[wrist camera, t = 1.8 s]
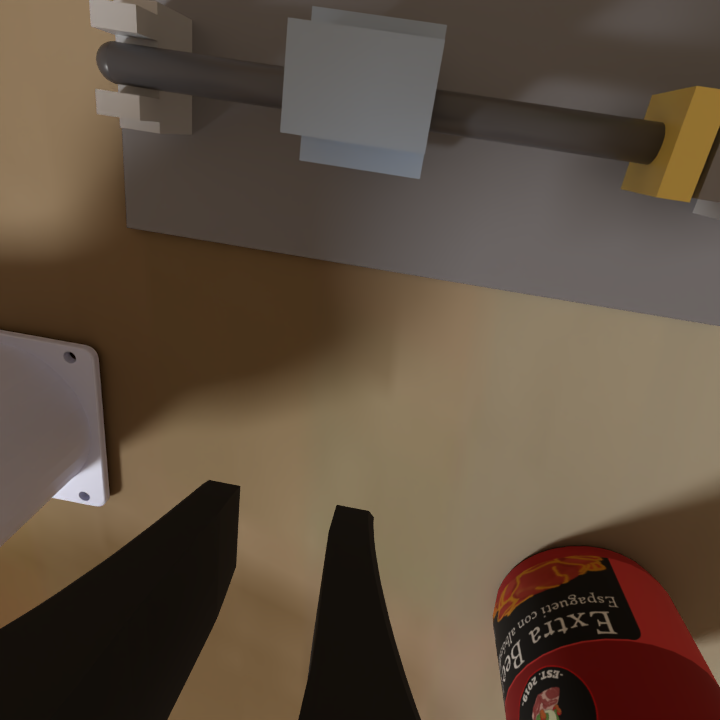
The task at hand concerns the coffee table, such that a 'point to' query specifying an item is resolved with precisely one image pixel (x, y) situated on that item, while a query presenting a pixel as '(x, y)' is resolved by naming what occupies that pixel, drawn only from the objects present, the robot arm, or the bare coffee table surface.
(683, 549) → the coffee table surface
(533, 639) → the canned food
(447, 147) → the linear slide rail
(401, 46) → the sleeve
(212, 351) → the coffee table surface
